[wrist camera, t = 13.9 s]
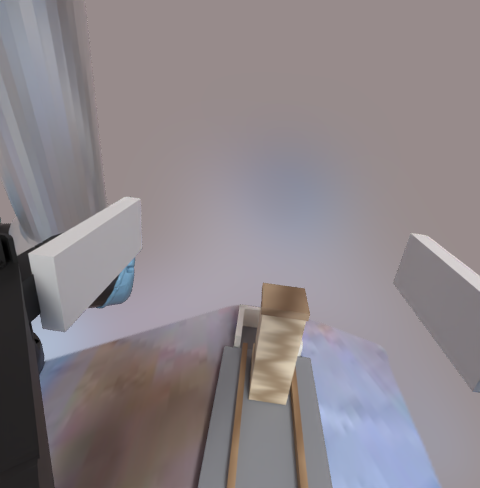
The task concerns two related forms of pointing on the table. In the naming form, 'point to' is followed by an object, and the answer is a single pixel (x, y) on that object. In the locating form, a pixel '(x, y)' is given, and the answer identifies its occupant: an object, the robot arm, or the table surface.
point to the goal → (249, 327)
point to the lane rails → (297, 428)
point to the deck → (263, 433)
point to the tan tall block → (277, 342)
